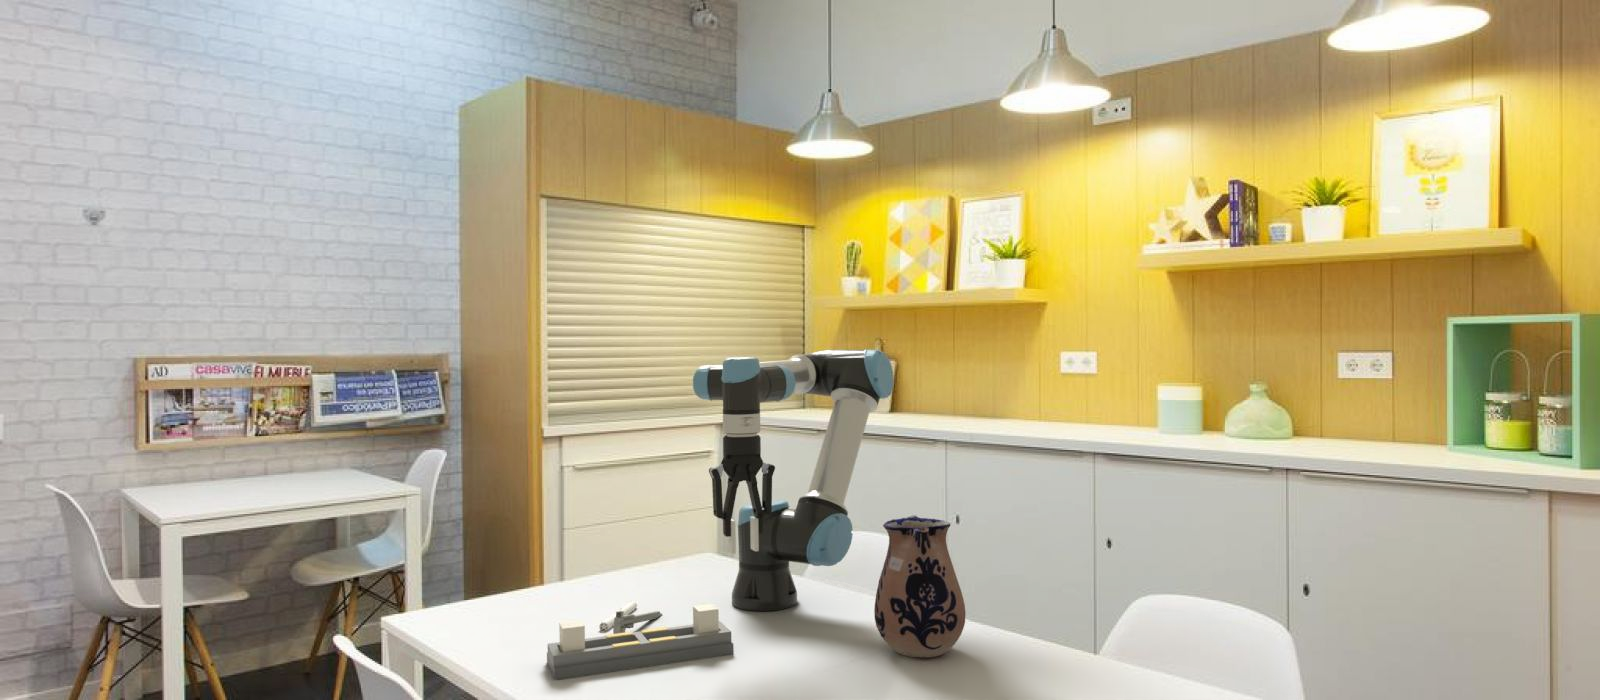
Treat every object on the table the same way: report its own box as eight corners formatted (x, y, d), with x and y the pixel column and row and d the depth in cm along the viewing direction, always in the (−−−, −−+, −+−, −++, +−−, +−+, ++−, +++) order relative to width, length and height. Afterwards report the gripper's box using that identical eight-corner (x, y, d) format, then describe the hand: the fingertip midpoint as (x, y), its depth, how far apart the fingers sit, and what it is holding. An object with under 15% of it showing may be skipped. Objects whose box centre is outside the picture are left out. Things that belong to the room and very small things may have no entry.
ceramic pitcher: (887, 669, 176) (885, 534, 175) (862, 634, 196) (860, 513, 196) (978, 663, 178) (977, 529, 178) (944, 629, 199) (942, 509, 199)
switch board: (717, 638, 195) (717, 618, 195) (733, 653, 185) (733, 632, 185) (546, 662, 182) (546, 640, 181) (554, 680, 172) (554, 656, 172)
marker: (631, 607, 219) (631, 597, 219) (640, 608, 219) (639, 597, 219) (599, 631, 202) (598, 620, 201) (608, 632, 201) (608, 621, 201)
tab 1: (581, 651, 181) (580, 620, 181) (585, 658, 177) (584, 625, 177) (559, 654, 179) (559, 622, 179) (563, 661, 176) (562, 628, 176)
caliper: (618, 644, 193) (617, 613, 193) (613, 644, 193) (612, 613, 193) (662, 616, 212) (662, 588, 212) (658, 615, 212) (657, 587, 212)
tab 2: (712, 633, 191) (712, 603, 191) (718, 639, 187) (718, 609, 187) (693, 636, 189) (693, 606, 189) (699, 642, 186) (698, 611, 186)
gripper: (705, 438, 184) (707, 559, 184) (788, 434, 191) (790, 550, 191) (694, 435, 191) (696, 551, 191) (775, 430, 198) (776, 543, 198)
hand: (743, 550), depth 191 cm, fingers open, 4 cm apart
